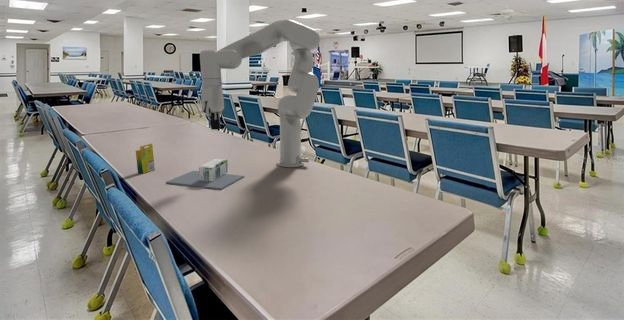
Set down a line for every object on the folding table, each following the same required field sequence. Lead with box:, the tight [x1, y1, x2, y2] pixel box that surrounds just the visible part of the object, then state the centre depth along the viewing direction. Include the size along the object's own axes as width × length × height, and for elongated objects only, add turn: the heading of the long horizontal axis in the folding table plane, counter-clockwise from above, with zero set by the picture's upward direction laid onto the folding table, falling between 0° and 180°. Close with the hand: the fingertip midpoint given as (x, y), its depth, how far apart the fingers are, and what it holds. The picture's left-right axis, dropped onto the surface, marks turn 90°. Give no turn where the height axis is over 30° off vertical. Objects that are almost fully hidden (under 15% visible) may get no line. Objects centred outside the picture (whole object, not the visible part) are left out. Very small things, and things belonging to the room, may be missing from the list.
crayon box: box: [135, 143, 156, 175], centre depth 169 cm, size 7×3×12 cm, turn 160°
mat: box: [165, 170, 245, 191], centre depth 158 cm, size 24×18×1 cm
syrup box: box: [198, 158, 229, 181], centre depth 161 cm, size 6×6×14 cm
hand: (215, 129), depth 161 cm, fingers closed
